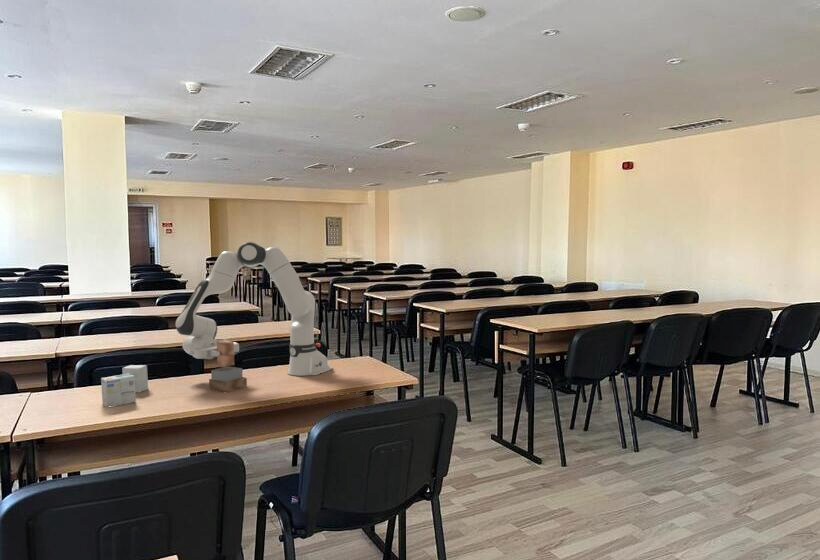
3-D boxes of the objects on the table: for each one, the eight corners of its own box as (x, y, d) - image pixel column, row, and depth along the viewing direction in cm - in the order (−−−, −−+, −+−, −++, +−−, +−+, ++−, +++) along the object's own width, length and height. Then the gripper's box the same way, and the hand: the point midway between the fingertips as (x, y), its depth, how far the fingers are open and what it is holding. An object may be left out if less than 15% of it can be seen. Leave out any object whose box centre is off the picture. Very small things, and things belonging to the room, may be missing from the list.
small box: (148, 389, 237) (147, 365, 237) (141, 392, 232) (139, 368, 231) (130, 388, 238) (129, 364, 237) (122, 392, 233) (121, 367, 232)
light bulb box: (130, 398, 223) (129, 372, 222) (136, 402, 218) (135, 375, 217) (101, 404, 215) (100, 377, 215) (106, 408, 211) (105, 380, 210)
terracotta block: (227, 363, 242) (226, 340, 241) (234, 364, 239) (233, 341, 238) (217, 365, 238) (216, 342, 237) (224, 366, 235) (223, 343, 234)
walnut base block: (231, 384, 246) (231, 374, 246) (246, 388, 240) (246, 377, 240) (209, 389, 238) (209, 379, 237) (224, 393, 231) (224, 383, 231)
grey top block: (227, 375, 245) (227, 366, 244) (242, 377, 240) (242, 368, 240) (211, 379, 237) (211, 370, 236) (226, 382, 232) (226, 372, 232)
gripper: (186, 345, 237) (204, 349, 229) (227, 338, 254) (246, 341, 245) (187, 359, 238) (205, 364, 230) (228, 352, 254) (246, 355, 246)
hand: (226, 352), depth 238 cm, fingers closed on terracotta block, 5 cm apart
